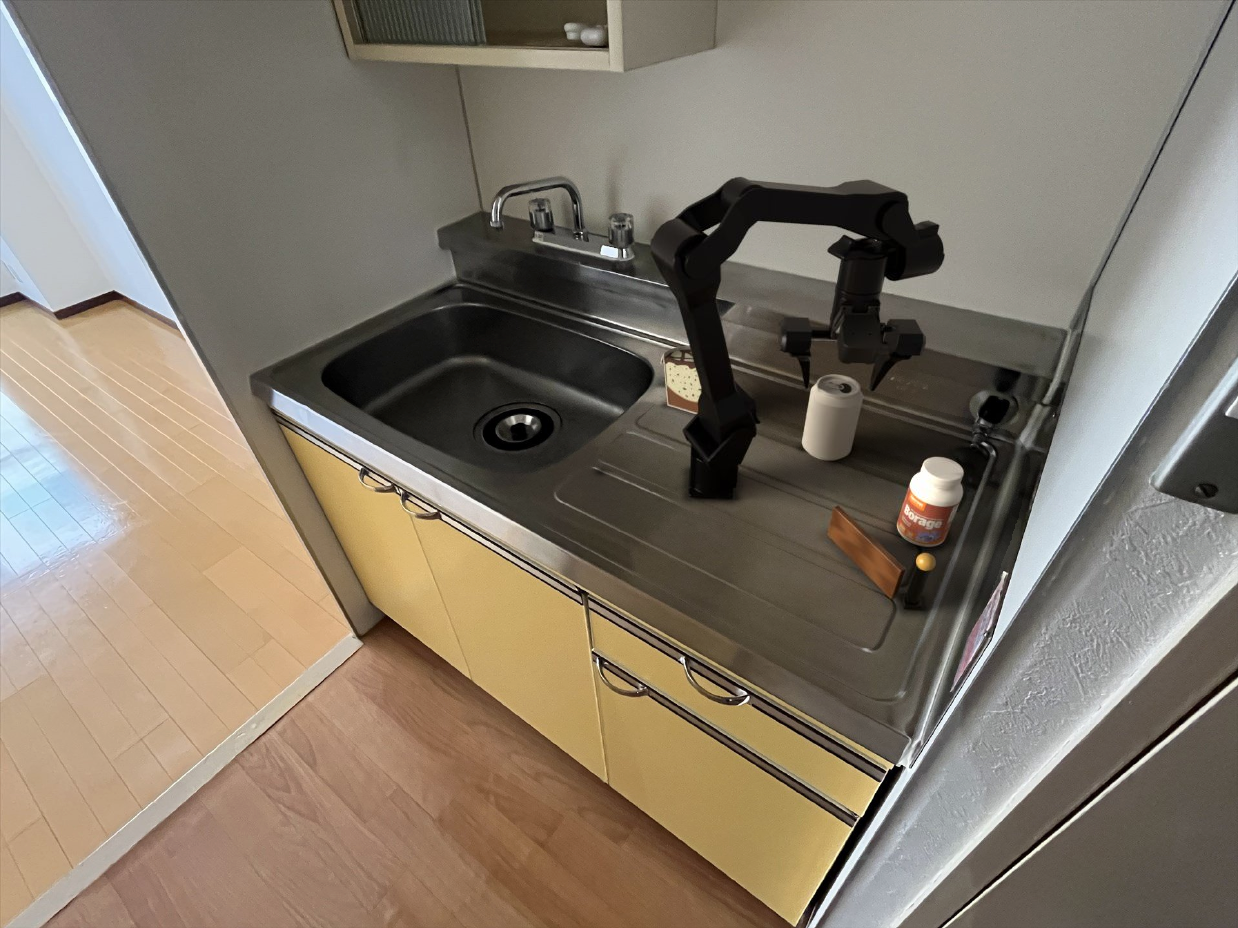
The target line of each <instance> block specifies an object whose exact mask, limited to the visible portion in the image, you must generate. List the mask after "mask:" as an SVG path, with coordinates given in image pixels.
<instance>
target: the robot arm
mask: <svg viewBox="0 0 1238 928" xmlns="http://www.w3.org/2000/svg"><path fill="white" fill-rule="evenodd" d="M909 210H910V201H909V196H908V195H907V193H906V192H903V191H900V190H897V189H895V188H892V187H890V186H887V185H884V184H883V183H882V184H881V183H879V182H876V181H874V180H871V179H859V180H850V181H844V182H841V183H839V184H838V185H835V186H817V185H809V184H808V185H806V184H798V183H797V184H796V183H788V182H787V183H786V182H776V181H775V182H774V181H764V180H755V179H748V178H746V177H743V176H736V177H732V178H730V179H728V180H726V182H724V183H723V184H722V185H721V186H720V187H718V189H716V190H715V191H714V192H712V193H710V194H708V195H706V196H704V197H703V198H701V199H699V200H697V201H695V202H693V203H691V204H690V205H688V206H687V207H685V208H684V209H683V210H681V212H680V213H678V214H677V215H676V216H675V217H674V218H672V219H669V220H666V221H665V222H663V223H662V224H661V225H660V226H659V227H658V228H657V229H656V231H655V232H654V234H653V236H652V238H651V239H650V244H649V248H650V255H651V257H652V259H653V261H654V263H655V265H656V267H657V269H658V271H659V273H660V275H661V277H662V279H663V281H664V282H665V284H666V285H667V287H668V288H669V290H670V291H671V292H672V294H673V296H674V298H675V300H676V301H677V304H678V307H679V311H680V316H681V319H682V322H683V327H684V330H685V334H686V337H687V341H688V344H689V345H690V349H691V352H692V356H693V360H694V363H695V367H696V371H697V374H698V378H699V382H700V385H701V394H700V396H699V399H698V413H697V414H694V416H693V417H692V418H691V420H690V421H689V422H688V423H687V424H686V425H685V426H684V427H683V429H682V433H683V436H684V438H685V440H686V441H687V442H688V443H689V444H690V462H689V463H690V464H689V469H688V489H687V490H688V491H687V495H688V497H689V498H693V499H694V498H695V499H714V500H715V499H717V500H733V499H734V489H737V487H738V478H739V477H738V475H739V466H740V465H742V463H743V461H744V459H745V456H746V454H747V452H748V451H749V448H750V446H751V444H752V442H753V439H754V438H756V437H757V435H758V434H757V433H758V426H757V425H760V424H761V423H762V422H761V420H760V419H759V418H758V415H757V403H756V399H755V398H753V396H751V394H750V393H748V392H747V391H746V389H744V388H743V387H742V386H741V385H740V384H739V383H738V382H737V380H735V377H734V372H733V367H732V363H731V358H730V355H729V350H728V349H729V348H728V345H727V341H726V336H725V332H724V327H723V324H722V319H721V318H722V317H721V314H720V310H719V306H718V301H717V300H718V299H717V295H718V292H719V289H720V286H721V282H722V265H723V264H724V263H725V262H726V261H727V260H728V259H730V258H731V257H732V256H733V255H735V253H736V252H737V251H738V249H739V247H740V245H741V244H742V242H743V240H744V239H745V237H746V236H747V233H748V232H749V230H750V229H751V228H752V227H753V226H755V224H757V223H758V222H764V223H777V224H779V223H780V224H795V225H811V226H824V227H828V226H829V227H836V228H838V229H842V230H845V231H847V232H851V233H852V234H856V235H859V236H861V237H859V238H853V237H851V236H849V235H846V234H842V235H841V237H840V238H839V239H838V240H837V241H835V242H834V243H832V244H831V245H830V246H829V247H828V248H827V249H826V250H827V253H828V254H830V255H832V256H833V257H835V258H837V259H839V260H840V262H839V268H838V273H837V274H838V275H837V280H836V284H835V287H834V296H833V302H832V307H831V312H830V316H829V324H828V326H811V322H810V319H809V317H802V316H801V317H800V316H799V317H797V316H796V317H795V316H794V317H793V316H790V317H789V316H783V318H782V319H780V321H779V322H778V328H777V339H778V345H779V346H778V347H779V351H780V352H782V353H784V354H788V356H789V357H790V358H795V359H797V361H798V363H799V366H800V370H801V375H802V380H803V386H804V390H809V387H810V382H811V381H810V379H811V359H812V351H811V347H812V342H822V343H823V342H827V343H828V342H829V343H830V342H832V343H834V342H836V345H837V346H836V347H837V359H838V361H839V362H840V363H842V364H845V365H851V364H865V365H873V364H874V365H873V368H872V371H871V376H870V381H869V390H870V392H874V391H875V390H876V389H877V387H878V386H879V385H880V384H881V382H882V381H883V379H885V377H886V376H887V374H888V373H889V372H890V370H891V369H892V368H893V367H894V366H895V365H896V364H897V363H900V362H902V361H908V360H911V359H912V357H913V356H914V357H915V356H916V357H920V356H922V355H923V354H924V351H925V348H926V344H927V336H926V334H925V332H924V330H923V329H922V327H921V325H920V324H919V322H918V321H917V320H916V319H915V318H914V319H913V318H911V319H910V318H904V319H903V318H889V319H888V320H887V322H881V316H880V311H881V304H882V302H881V296H882V291H883V288H884V282H885V279H887V280H888V281H891V282H898V281H904V280H909V279H913V278H917V277H923V276H928V275H933V274H934V273H936V272H937V271H938V270H940V268H941V267H942V266H943V264H944V261H945V257H946V254H945V249H944V242H943V240H942V237H941V235H940V234H939V229H940V224H938V223H937V222H934V221H932V220H923V221H920V222H918V223H915V224H914V221H913V219H912V217H911V213H910V211H909ZM717 225H718V226H717ZM715 226H717V227H716V228H715V229H714V230H712V232H711V233H709V234H707V232H706V231H707V230H709V229H711V228H713V227H715Z"/></svg>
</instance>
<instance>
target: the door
mask: <svg viewBox="0 0 1238 928" xmlns="http://www.w3.org/2000/svg"><path fill="white" fill-rule="evenodd" d="M827 536H828V537H829V539H831V541H832V542H833V543H835V545H837V547H839V548H840V549H841V550H842V551H843V552H844V553H845V554H846V556H848V557H849V559H851V560H852V562H853V563H855V565H857V566H858V568H859V569H860V570H861V571H863V573H864V574H865V575H867V577H868V578H869V579H870V580H871V581H872V582H873V583H874V584H875V585H876V586H877V587H878V588H879V589H880V590H881V591H882V592H883V593H884V594H885V595H886V596H887V597H888V598H889V599H890V600H893V599H896V598H897V596H898V594H899V592H900V588H901V585H902V582H903V579H904V576H905V574H906V571H907V568H906V567H905V566H904V565H902V563H900V562H899V561H898V560H897V559H896V558H895V557H894V556H893V555H892V554H891V553H890V552H889V551H888V550H887V549H885V548H884V547H883V546H882V545H881V544H880V543H879V542H878V541H877V540H876V539H875V538H874V537H873V536H871V535H870V533H868V532H867V531H866V530H865V529H864V528H863V527H862V526H861V525H860V524H859V523H858V522H857V521H855V519H854V518H853V517H851V515H849V513H847V512H846V511H845V510H844V509H843V508H842V507H841V506H840V505H835V506H833V508H832V513H831V516H830V522H829V526H828V530H827Z"/></svg>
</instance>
